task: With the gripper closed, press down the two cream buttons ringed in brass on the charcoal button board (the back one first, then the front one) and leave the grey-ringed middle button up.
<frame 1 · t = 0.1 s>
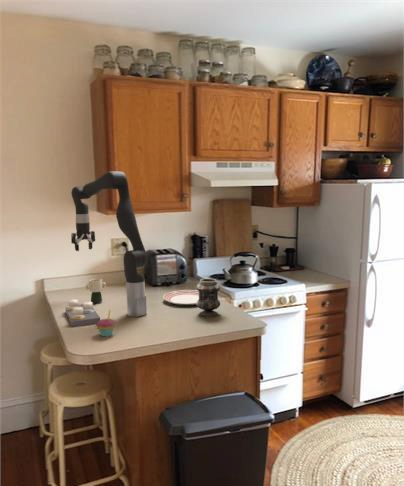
hand: (84, 250, 243), 29 cm above the countertop, fingers open, 8 cm apart
apothecary jar: (208, 314, 215), on the countertop
button back: (73, 303, 218), point 6 cm above the countertop, slide at 0.0 cm
button front: (77, 311, 204), point 6 cm above the countertop, slide at 0.0 cm
character mug: (96, 302, 240), on the countertop
dinner plate: (187, 301, 241), on the countertop
button board: (82, 317, 213), on the countertop
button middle: (87, 305, 213), point 6 cm above the countertop, slide at 0.0 cm
cupcake: (106, 335, 187), on the countertop
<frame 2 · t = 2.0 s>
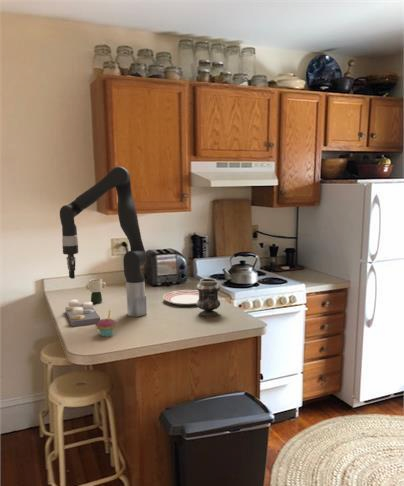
hand: (71, 277, 216), 19 cm above the countertop, fingers open, 3 cm apart
nothing on the countertop moved.
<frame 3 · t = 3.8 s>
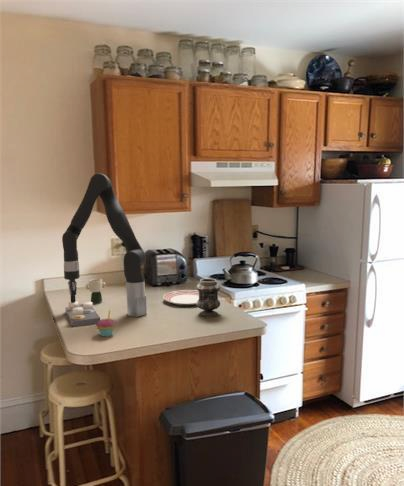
hand: (73, 302, 218), 6 cm above the countertop, fingers closed
button back: (73, 304, 218), point 5 cm above the countertop, slide at 0.9 cm, touching gripper
everything else where it was.
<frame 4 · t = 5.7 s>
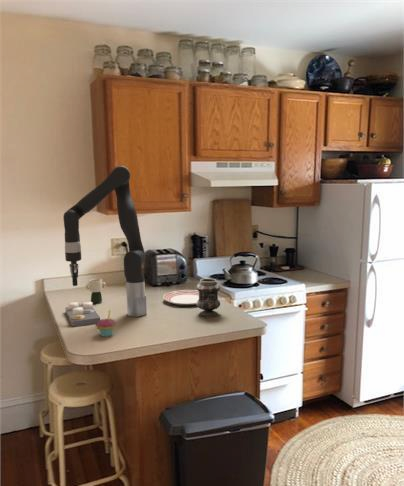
hand: (75, 285, 209), 17 cm above the countertop, fingers closed
button back: (73, 305, 218), point 4 cm above the countertop, slide at 1.5 cm
everything else where it was.
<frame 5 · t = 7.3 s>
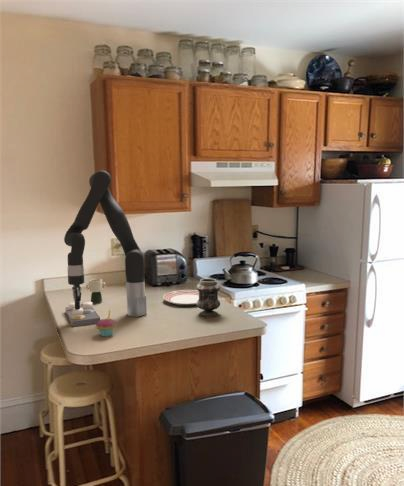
hand: (77, 309, 204), 7 cm above the countertop, fingers closed
button front: (77, 311, 204), point 5 cm above the countertop, slide at 0.3 cm, touching gripper
everything else where it was.
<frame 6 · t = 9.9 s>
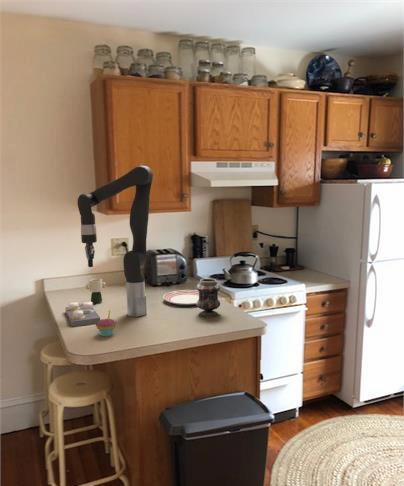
hand: (90, 266, 217), 24 cm above the countertop, fingers closed
button front: (78, 314, 204), point 4 cm above the countertop, slide at 1.5 cm
everything else where it was.
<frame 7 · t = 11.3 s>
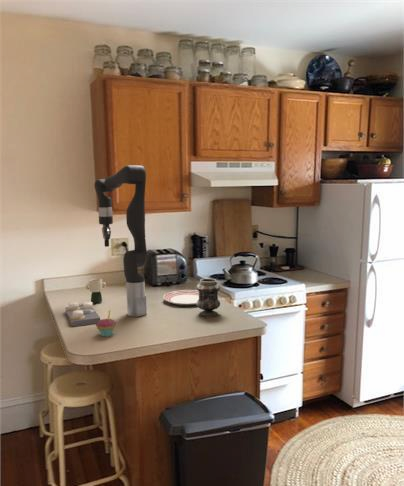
hand: (106, 246, 237), 32 cm above the countertop, fingers closed
nothing on the countertop moved.
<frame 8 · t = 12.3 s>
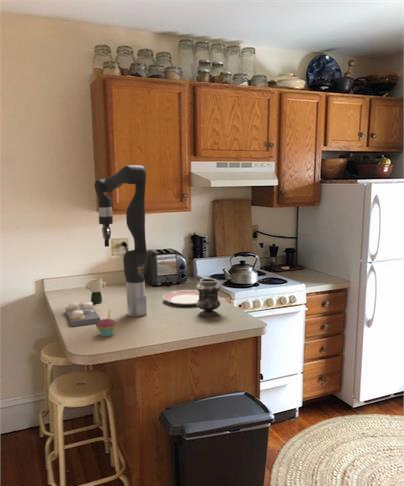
hand: (106, 246, 237), 32 cm above the countertop, fingers closed
nothing on the countertop moved.
at the end: button back slide at 1.5 cm; button front slide at 1.5 cm; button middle slide at 0.0 cm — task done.
